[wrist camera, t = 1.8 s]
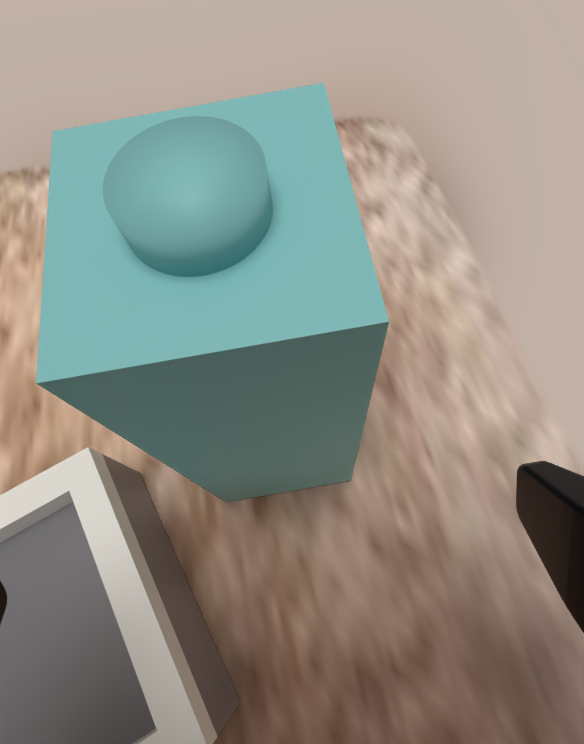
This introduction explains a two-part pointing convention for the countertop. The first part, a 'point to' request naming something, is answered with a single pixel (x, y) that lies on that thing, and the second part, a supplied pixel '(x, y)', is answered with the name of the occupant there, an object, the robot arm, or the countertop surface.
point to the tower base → (101, 617)
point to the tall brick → (214, 291)
